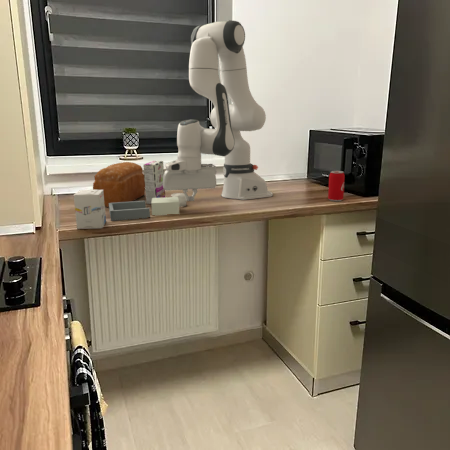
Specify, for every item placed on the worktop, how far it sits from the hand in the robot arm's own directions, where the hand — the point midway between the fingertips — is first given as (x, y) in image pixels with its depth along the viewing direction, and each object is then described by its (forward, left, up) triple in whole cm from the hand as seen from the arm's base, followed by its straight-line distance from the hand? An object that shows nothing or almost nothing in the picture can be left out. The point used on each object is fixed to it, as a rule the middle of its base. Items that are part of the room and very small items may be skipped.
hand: (190, 200), depth 172 cm
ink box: (+36, +11, -4) cm, 38 cm away
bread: (+24, -27, -4) cm, 37 cm away
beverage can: (-61, +1, -4) cm, 62 cm away
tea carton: (+9, 0, -4) cm, 10 cm away
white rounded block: (+2, -10, -4) cm, 11 cm away
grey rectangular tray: (+22, 0, -4) cm, 23 cm away
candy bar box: (+10, -20, -4) cm, 23 cm away
